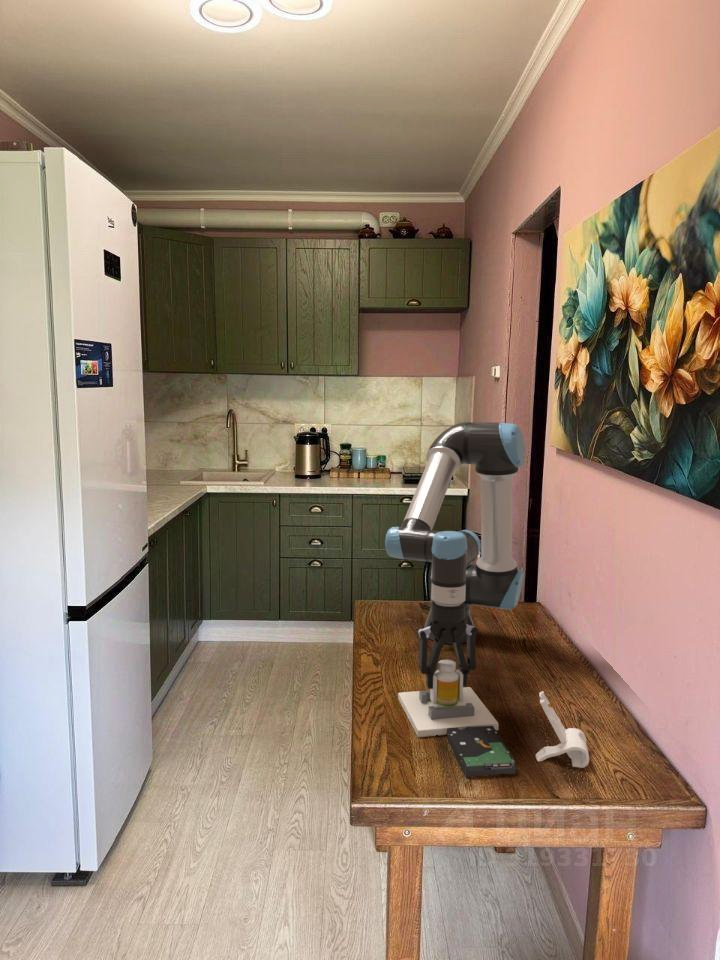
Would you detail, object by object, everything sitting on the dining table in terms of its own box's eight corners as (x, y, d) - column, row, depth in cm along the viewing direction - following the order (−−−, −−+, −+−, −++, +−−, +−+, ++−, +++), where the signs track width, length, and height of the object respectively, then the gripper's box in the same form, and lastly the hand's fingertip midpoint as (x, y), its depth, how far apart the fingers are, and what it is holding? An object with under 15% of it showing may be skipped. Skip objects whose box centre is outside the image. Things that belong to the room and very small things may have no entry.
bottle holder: (398, 698, 157) (398, 684, 157) (470, 692, 160) (470, 679, 160) (417, 737, 139) (418, 721, 139) (498, 729, 143) (498, 714, 142)
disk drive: (445, 740, 140) (465, 779, 125) (445, 727, 139) (465, 766, 125) (492, 737, 141) (517, 776, 126) (492, 724, 141) (518, 762, 126)
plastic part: (588, 769, 128) (592, 713, 126) (535, 762, 130) (538, 706, 129) (585, 749, 135) (588, 695, 134) (535, 742, 138) (538, 690, 136)
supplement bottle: (461, 708, 147) (462, 667, 146) (438, 710, 146) (438, 668, 145) (454, 697, 153) (454, 657, 151) (431, 699, 152) (432, 658, 150)
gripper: (412, 609, 141) (411, 711, 144) (493, 604, 144) (490, 704, 147) (404, 598, 148) (402, 695, 151) (481, 594, 152) (478, 689, 155)
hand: (446, 699), depth 149 cm, fingers closed on supplement bottle, 5 cm apart
